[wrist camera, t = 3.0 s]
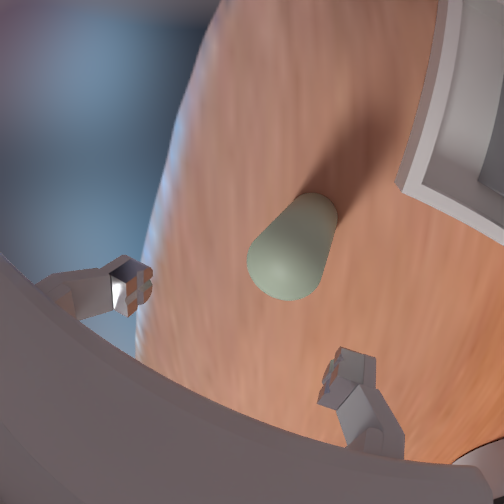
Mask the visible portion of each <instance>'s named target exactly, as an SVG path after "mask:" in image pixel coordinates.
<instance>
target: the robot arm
mask: <svg viewBox="0 0 504 504" xmlns="http://www.w3.org/2000/svg"><path fill="white" fill-rule="evenodd" d="M152 277H153V270H152V269H151V267H149V266H147V265H145V264H143V263H141V262H139V261H137V260H135V259H133V258H131V257H129V256H127V255H121V256H120V257H118V258H116V259H115V260H113V261H112V262H110V263H108V264H107V265H105V266H104V267H102V268H100V269H98V268H93V269H84V270H77V271H69V272H61V273H54V274H51V275H50V276H48V277H46V278H45V279H43V280H41V281H40V282H38V283H37V284H35V285H34V284H33V283H32V282H31V281H30V280H28V279H27V278H26V277H25V276H24V275H23V274H22V273H21V272H20V271H19V270H17V268H16V267H14V266H13V265H12V264H11V263H10V262H9V261H8V260H7V259H6V258H5V256H4V255H3V254H2V253H0V504H504V439H502V440H499V441H496V442H493V443H490V444H487V445H485V446H482V447H480V448H478V449H476V450H474V451H472V452H470V453H468V454H466V455H464V456H463V457H461V458H459V459H458V460H456V461H455V462H454V463H453V464H452V465H451V464H437V463H426V462H417V461H410V460H404V443H405V434H404V432H403V430H402V429H401V427H400V425H399V423H398V422H397V420H396V418H395V416H394V415H393V413H392V411H391V410H390V408H389V406H388V404H387V403H386V401H385V399H384V398H383V396H382V394H381V393H380V391H379V390H378V389H375V388H376V358H375V357H372V356H369V355H366V354H362V353H359V352H356V351H353V350H350V349H347V348H344V347H341V346H340V347H339V348H338V350H337V351H336V353H335V358H334V359H333V360H331V361H330V363H329V365H328V366H327V368H326V371H325V373H324V376H323V380H322V383H323V387H322V388H321V390H320V392H319V397H318V401H317V404H319V405H322V406H325V407H328V408H331V409H334V410H337V411H336V413H337V416H338V419H339V421H340V424H341V427H342V430H343V433H344V436H345V439H346V442H347V445H348V446H347V447H345V448H343V447H339V446H335V445H332V444H328V443H324V442H321V441H317V440H314V439H311V438H308V437H304V436H301V435H298V434H295V433H292V432H289V431H286V430H283V429H280V428H278V427H275V426H272V425H269V424H267V423H264V422H261V421H259V420H256V419H254V418H251V417H249V416H246V415H244V414H241V413H239V412H237V411H234V410H232V409H230V408H227V407H225V406H223V405H221V404H219V403H216V402H214V401H212V400H210V399H208V398H206V397H204V396H202V395H199V394H197V393H195V392H193V391H191V390H189V389H188V388H186V387H184V386H182V385H180V384H178V383H176V382H174V381H172V380H170V379H169V378H167V377H165V376H163V375H161V374H160V373H158V372H156V371H154V370H153V369H151V368H149V367H147V366H146V365H144V364H142V363H141V362H139V361H137V360H136V359H134V358H133V357H131V356H129V355H128V354H126V353H125V352H123V351H121V350H120V349H118V348H117V347H115V346H114V345H112V344H111V343H109V342H108V341H106V340H105V339H103V338H102V337H100V336H99V335H97V334H96V333H95V332H93V331H92V330H90V329H89V328H88V327H86V326H85V325H83V324H82V323H81V322H80V321H79V320H83V319H86V318H89V317H93V316H96V315H99V314H102V313H106V312H109V311H112V310H113V309H114V310H115V311H117V312H119V313H121V314H122V315H124V316H126V317H129V316H130V315H131V314H133V313H134V312H135V311H136V310H137V307H138V305H141V304H144V303H145V302H146V301H147V300H148V299H149V297H150V295H151V292H152V283H151V281H150V279H151V278H152Z"/></svg>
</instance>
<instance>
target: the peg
mask: <svg viewBox="0 0 504 504" xmlns="http://www.w3.org/2000/svg"><path fill="white" fill-rule="evenodd" d="M337 221H338V215H337V211H336V208H335V206H334V205H333V203H332V202H331V201H330V200H329V199H328V198H327V197H325V196H323V195H321V194H318V193H305V194H302V195H300V196H298V197H297V198H296V199H295V200H294V201H293V202H292V203H291V204H290V205H289V206H288V207H287V208H286V209H285V210H284V211H283V212H282V213H281V214H280V215H279V216H278V217H277V218H276V219H275V220H274V221H273V222H272V223H271V224H270V225H269V226H268V227H267V228H266V229H265V230H264V231H263V232H262V233H261V234H260V235H259V236H258V237H257V238H256V239H255V240H254V241H253V243H252V244H251V246H250V248H249V250H248V254H247V267H248V271H249V274H250V276H251V278H252V280H253V281H254V283H255V284H256V285H257V287H259V288H260V289H261V290H262V291H263V292H264V293H266V294H268V295H269V296H271V297H274V298H276V299H280V300H287V301H292V300H298V299H301V298H304V297H306V296H308V295H309V294H311V293H312V292H313V291H314V290H315V289H316V288H317V286H318V285H319V283H320V280H321V277H322V274H323V271H324V268H325V264H326V261H327V258H328V254H329V251H330V247H331V244H332V240H333V237H334V233H335V230H336V226H337Z"/></svg>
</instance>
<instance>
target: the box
mask: <svg viewBox="0 0 504 504" xmlns="http://www.w3.org/2000/svg"><path fill="white" fill-rule="evenodd" d="M394 182H395V184H396V185H397V187H398V188H399V189H400V191H401V192H402V193H404V194H406V195H408V196H411V197H413V198H415V199H417V200H419V201H421V202H423V203H426V204H428V205H430V206H432V207H434V208H436V209H438V210H440V211H442V212H444V213H446V214H448V215H450V216H452V217H454V218H455V219H457V220H459V221H461V222H463V223H465V224H467V225H469V226H470V227H472V228H474V229H476V230H477V231H479V232H481V233H483V234H484V235H486V236H488V237H490V238H491V239H493V240H495V241H496V242H498V243H500V244H501V245H503V246H504V0H439V1H438V10H437V17H436V24H435V31H434V37H433V43H432V48H431V53H430V58H429V63H428V68H427V73H426V77H425V81H424V86H423V90H422V94H421V98H420V101H419V105H418V109H417V113H416V116H415V120H414V123H413V127H412V130H411V133H410V137H409V140H408V143H407V146H406V149H405V152H404V155H403V158H402V161H401V164H400V167H399V170H398V173H397V176H396V179H395V181H394Z"/></svg>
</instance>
